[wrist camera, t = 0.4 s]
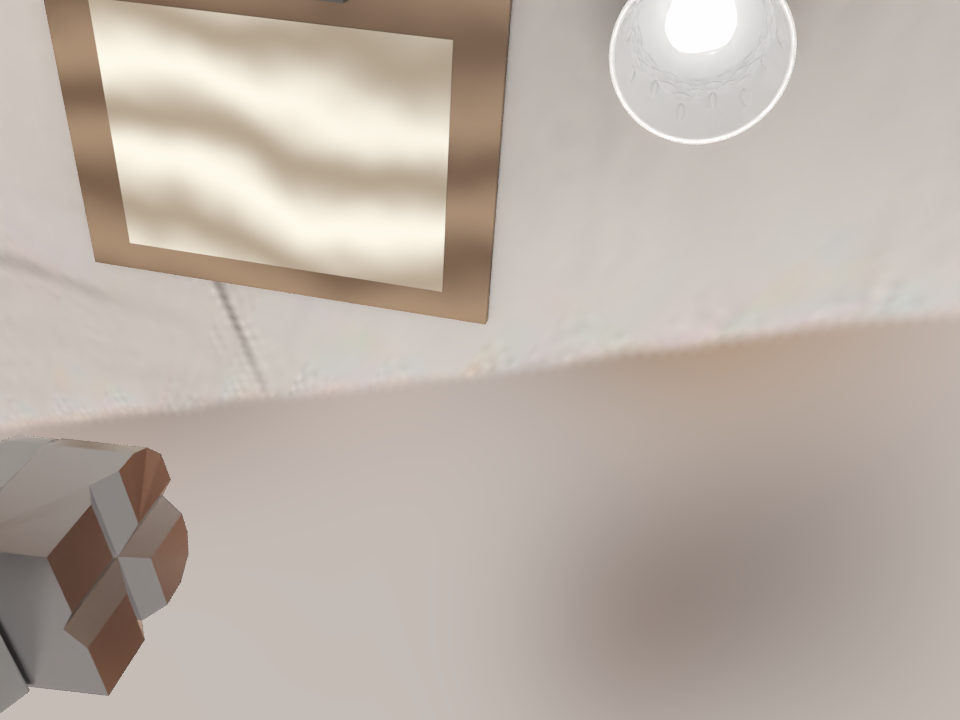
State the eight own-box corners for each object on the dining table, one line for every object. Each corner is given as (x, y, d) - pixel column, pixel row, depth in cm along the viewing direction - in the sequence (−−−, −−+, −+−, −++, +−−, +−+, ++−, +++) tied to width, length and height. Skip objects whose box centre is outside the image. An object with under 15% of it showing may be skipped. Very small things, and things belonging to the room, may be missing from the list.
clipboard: (33, -85, 52) (16, -81, 51) (514, -34, 48) (509, -29, 47) (100, 258, 64) (87, 268, 63) (487, 319, 60) (482, 332, 59)
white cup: (814, -11, 46) (838, 37, 38) (707, 111, 50) (707, 178, 42) (694, -112, 44) (691, -85, 36) (594, 22, 49) (572, 73, 41)
